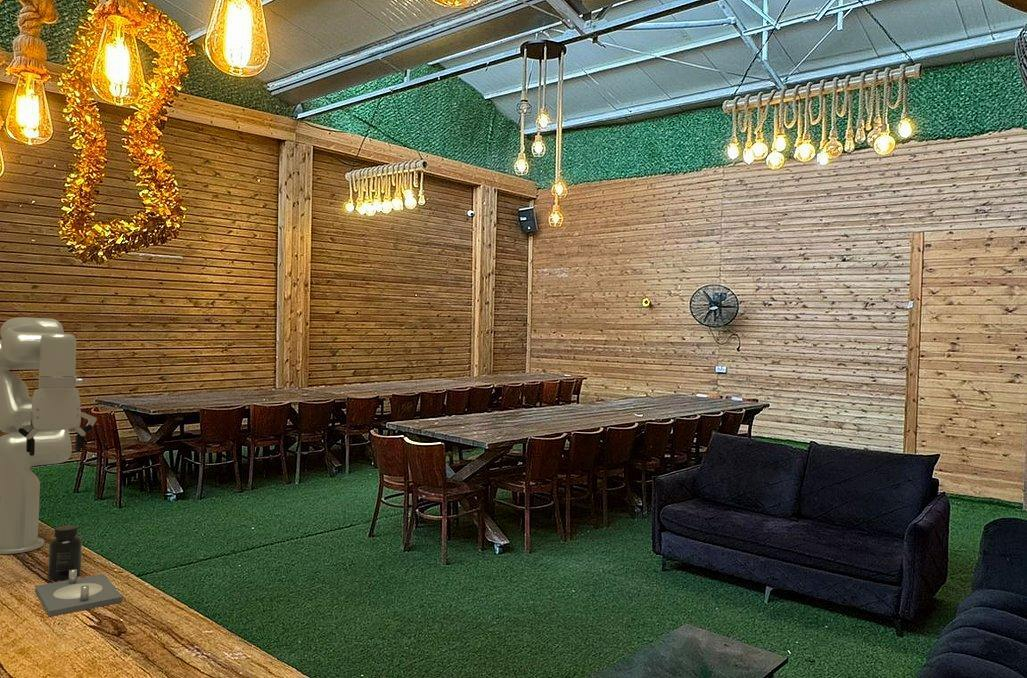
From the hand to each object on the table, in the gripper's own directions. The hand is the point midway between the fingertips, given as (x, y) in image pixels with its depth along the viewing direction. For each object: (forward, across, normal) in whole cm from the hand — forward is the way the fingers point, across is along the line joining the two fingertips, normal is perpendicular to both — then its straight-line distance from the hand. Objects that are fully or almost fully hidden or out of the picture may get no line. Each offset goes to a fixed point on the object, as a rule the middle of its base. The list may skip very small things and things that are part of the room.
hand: (55, 453), depth 172 cm
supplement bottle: (+31, -2, +1) cm, 31 cm away
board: (+31, -3, +17) cm, 35 cm away
